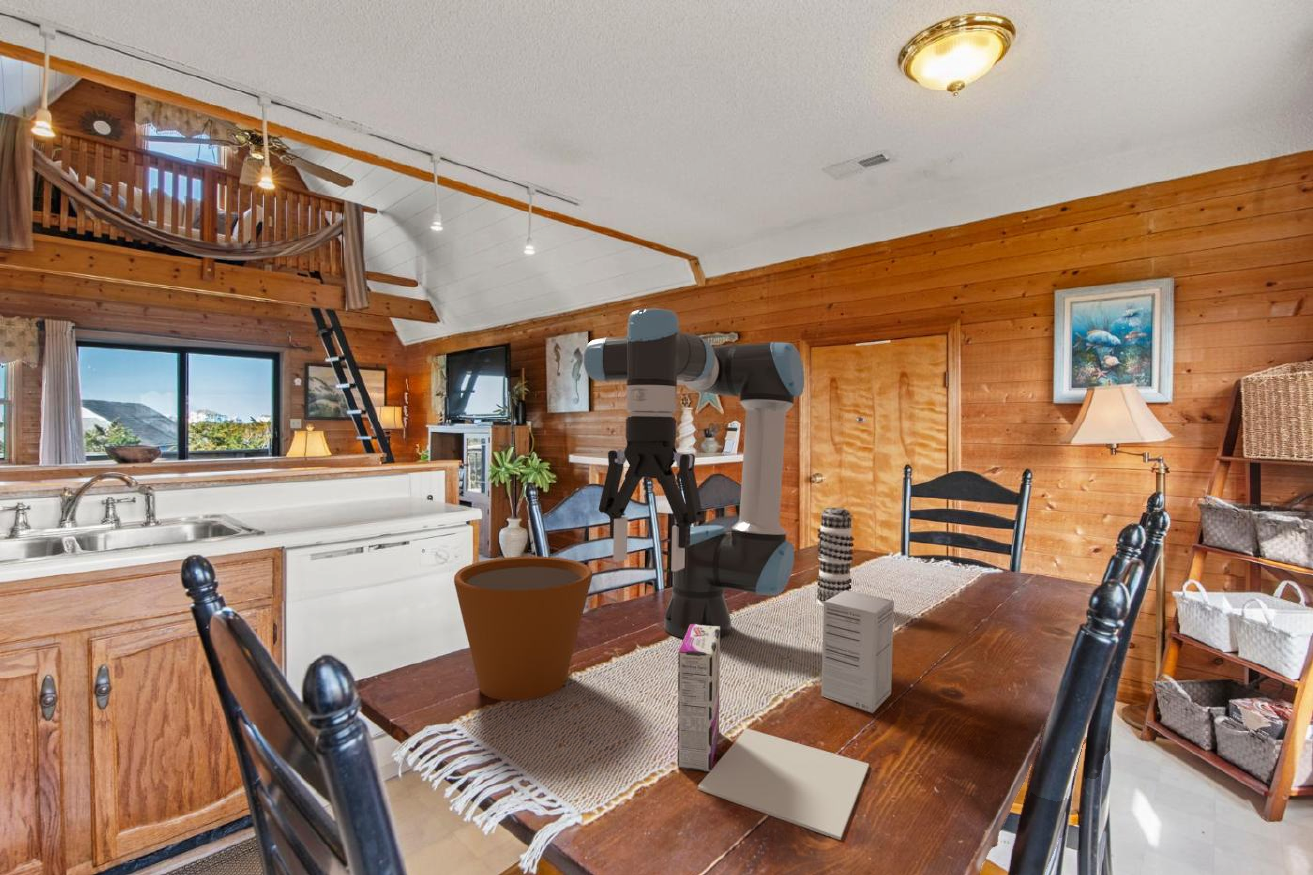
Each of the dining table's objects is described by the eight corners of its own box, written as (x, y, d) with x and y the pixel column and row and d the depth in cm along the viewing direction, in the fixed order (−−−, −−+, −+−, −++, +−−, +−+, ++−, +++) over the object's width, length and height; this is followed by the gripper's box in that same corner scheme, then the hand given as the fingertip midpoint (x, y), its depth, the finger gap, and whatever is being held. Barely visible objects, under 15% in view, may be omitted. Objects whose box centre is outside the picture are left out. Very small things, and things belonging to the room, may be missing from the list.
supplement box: (841, 679, 111) (844, 588, 111) (892, 694, 105) (895, 599, 105) (819, 696, 104) (822, 600, 103) (873, 714, 98) (876, 612, 97)
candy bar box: (687, 728, 92) (689, 622, 92) (719, 732, 91) (722, 625, 91) (674, 769, 82) (677, 649, 81) (711, 774, 81) (714, 653, 80)
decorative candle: (808, 600, 160) (811, 506, 159) (838, 597, 163) (841, 505, 162) (828, 611, 151) (831, 512, 150) (859, 608, 154) (862, 511, 153)
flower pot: (573, 650, 122) (575, 553, 122) (606, 702, 100) (608, 583, 100) (450, 665, 114) (451, 560, 113) (456, 726, 92) (457, 596, 91)
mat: (697, 789, 77) (697, 786, 77) (746, 730, 92) (746, 728, 92) (840, 840, 68) (840, 837, 68) (868, 766, 83) (868, 763, 83)
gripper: (576, 413, 92) (574, 559, 92) (707, 415, 81) (704, 581, 81) (604, 414, 98) (602, 550, 99) (729, 416, 87) (726, 569, 88)
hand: (648, 564), depth 90 cm, fingers open, 9 cm apart
